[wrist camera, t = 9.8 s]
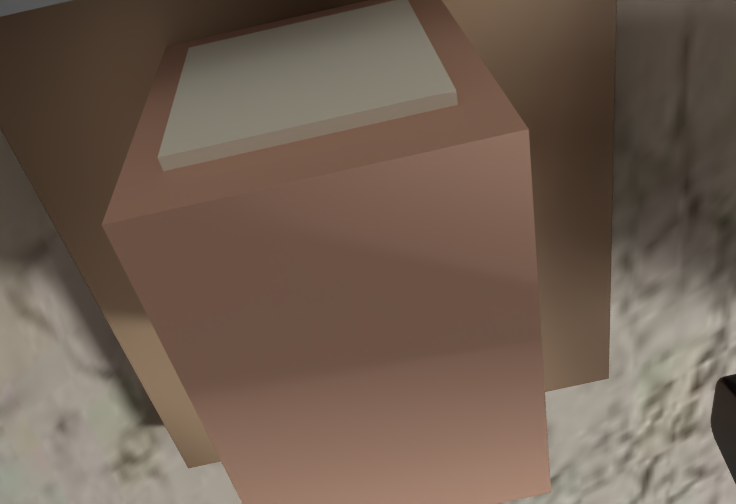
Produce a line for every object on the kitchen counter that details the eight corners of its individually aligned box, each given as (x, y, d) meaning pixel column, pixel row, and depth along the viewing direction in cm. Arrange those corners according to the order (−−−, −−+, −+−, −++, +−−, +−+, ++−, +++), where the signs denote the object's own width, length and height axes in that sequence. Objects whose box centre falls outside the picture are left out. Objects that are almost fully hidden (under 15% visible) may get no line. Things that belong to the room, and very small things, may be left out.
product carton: (471, 279, 17) (550, 492, 12) (269, 323, 17) (267, 552, 12) (430, -26, 13) (528, 113, 8) (162, 36, 13) (94, 210, 8)
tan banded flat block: (587, -234, 12) (698, -228, 9) (589, 341, 21) (647, 450, 18) (-69, -81, 13) (-186, -22, 9) (193, 426, 21) (178, 550, 18)
